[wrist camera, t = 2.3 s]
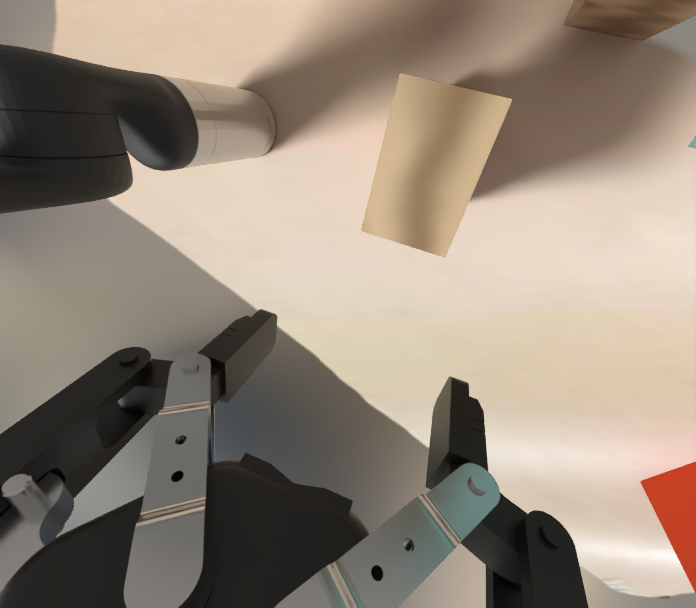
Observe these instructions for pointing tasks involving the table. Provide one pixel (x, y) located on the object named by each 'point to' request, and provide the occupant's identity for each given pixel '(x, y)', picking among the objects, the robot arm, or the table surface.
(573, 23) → the wooden moulding block
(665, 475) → the file binder
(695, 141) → the batten
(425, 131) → the block
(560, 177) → the table surface
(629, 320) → the table surface
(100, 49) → the table surface
